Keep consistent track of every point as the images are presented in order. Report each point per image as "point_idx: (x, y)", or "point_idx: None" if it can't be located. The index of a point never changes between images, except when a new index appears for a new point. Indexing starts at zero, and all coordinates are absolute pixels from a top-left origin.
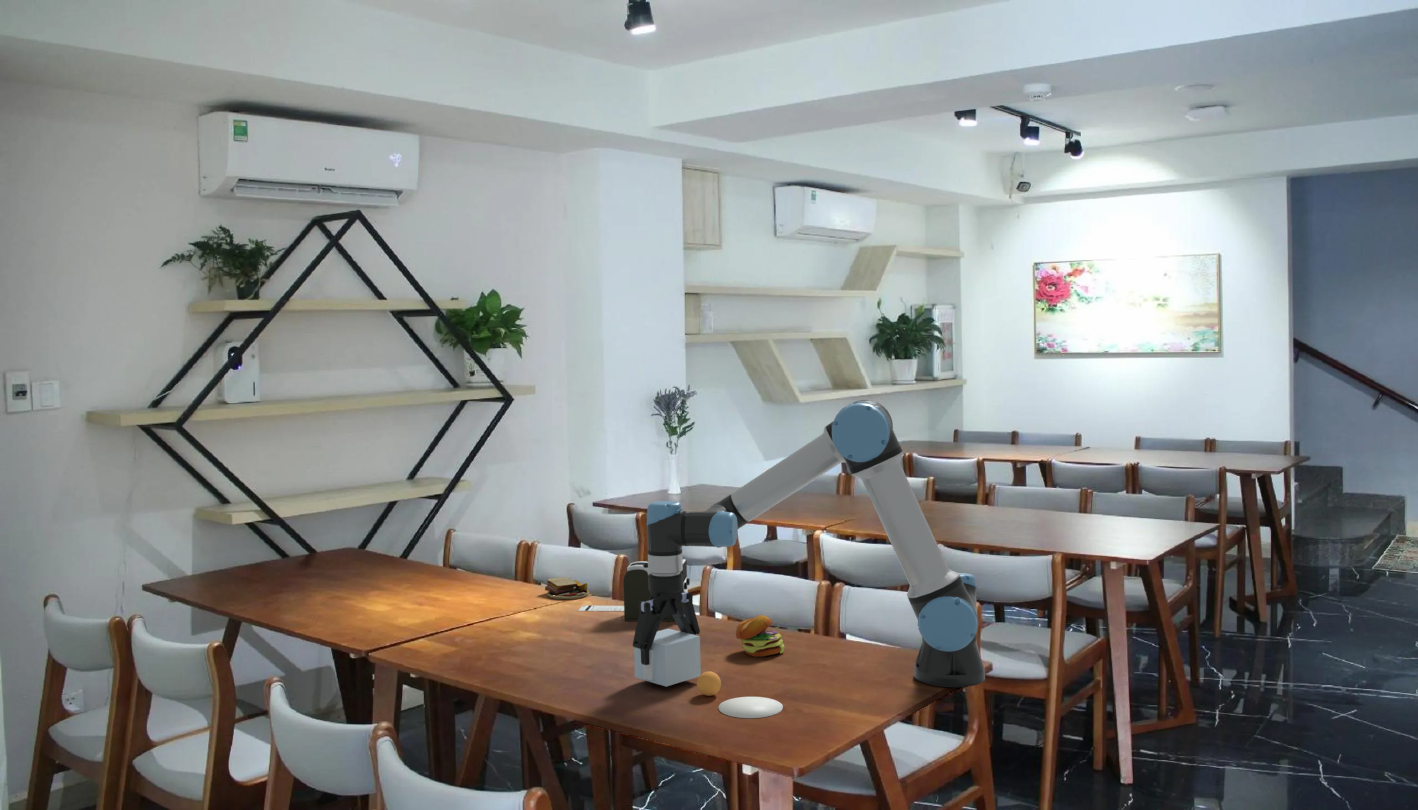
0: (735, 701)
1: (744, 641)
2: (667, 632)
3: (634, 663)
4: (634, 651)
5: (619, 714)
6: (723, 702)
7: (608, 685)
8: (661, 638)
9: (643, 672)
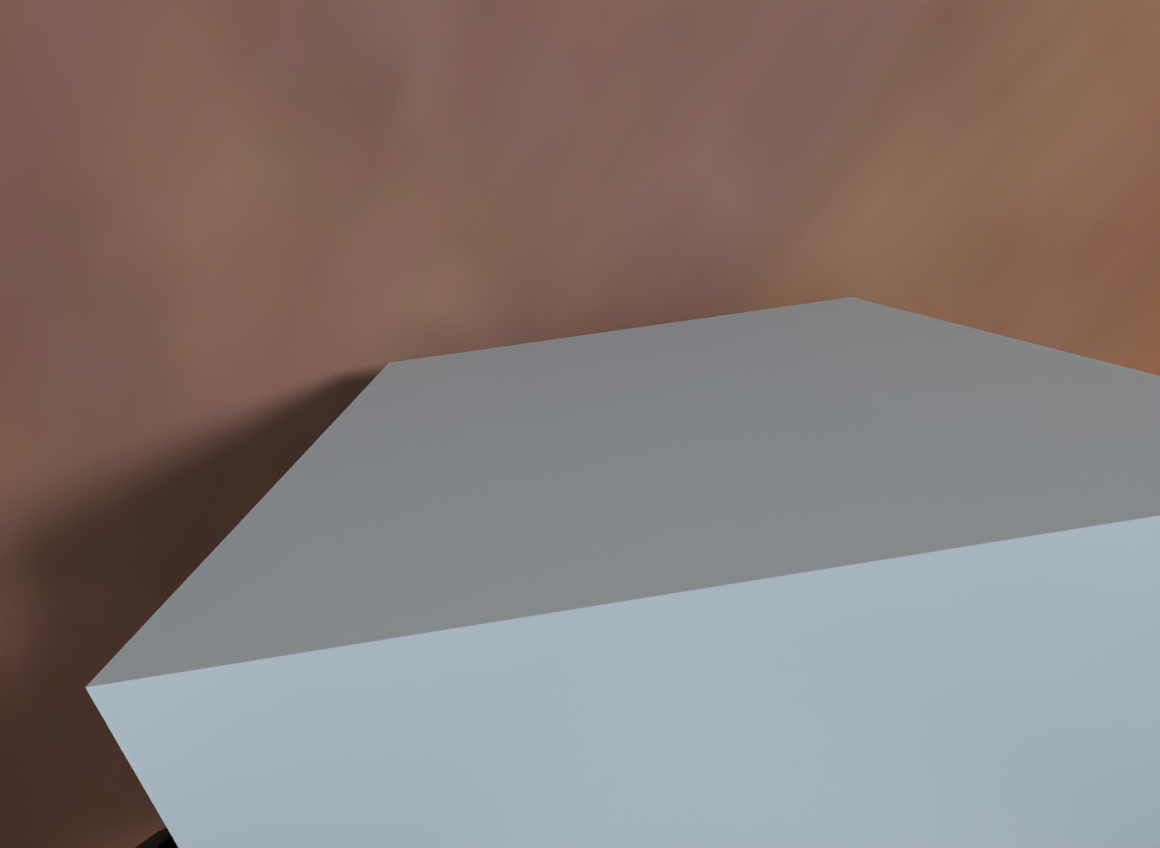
0: None
1: None
2: (1098, 749)
3: (347, 407)
4: (282, 487)
5: (5, 845)
6: None
7: (133, 247)
8: None
9: None
